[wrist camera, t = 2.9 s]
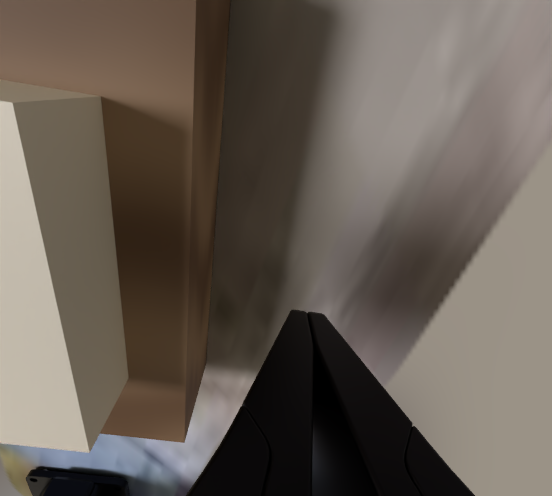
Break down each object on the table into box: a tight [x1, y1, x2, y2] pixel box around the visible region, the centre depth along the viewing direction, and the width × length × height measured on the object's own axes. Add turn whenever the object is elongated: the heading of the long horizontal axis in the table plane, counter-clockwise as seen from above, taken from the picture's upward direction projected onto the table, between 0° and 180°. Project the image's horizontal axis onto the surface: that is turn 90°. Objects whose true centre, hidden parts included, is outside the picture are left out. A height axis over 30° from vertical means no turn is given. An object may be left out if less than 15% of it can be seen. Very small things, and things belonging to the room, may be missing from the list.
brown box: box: [0, 0, 231, 443], centre depth 10 cm, size 16×12×4 cm
